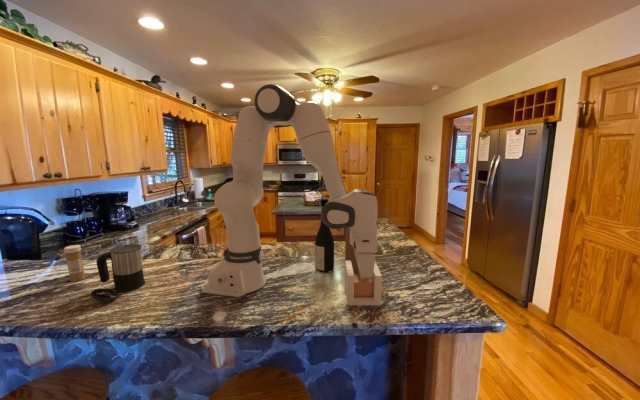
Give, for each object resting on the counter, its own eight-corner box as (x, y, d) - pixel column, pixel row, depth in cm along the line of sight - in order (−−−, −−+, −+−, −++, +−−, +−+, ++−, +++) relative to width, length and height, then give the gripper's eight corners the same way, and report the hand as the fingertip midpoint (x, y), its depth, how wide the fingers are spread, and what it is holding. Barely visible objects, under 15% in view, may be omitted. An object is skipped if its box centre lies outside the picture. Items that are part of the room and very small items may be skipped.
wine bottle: (319, 275, 104) (319, 201, 99) (312, 267, 111) (311, 198, 106) (337, 271, 107) (337, 200, 102) (329, 264, 114) (329, 197, 109)
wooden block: (369, 276, 103) (371, 227, 99) (344, 274, 105) (345, 226, 101) (370, 266, 112) (371, 221, 109) (347, 264, 114) (347, 220, 111)
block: (353, 299, 86) (354, 282, 85) (352, 289, 92) (352, 273, 91) (371, 299, 86) (372, 282, 85) (369, 290, 92) (369, 274, 91)
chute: (347, 304, 83) (347, 275, 81) (345, 286, 95) (345, 260, 93) (380, 305, 83) (381, 276, 81) (374, 286, 95) (375, 260, 93)
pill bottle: (87, 276, 104) (82, 243, 102) (82, 281, 100) (76, 247, 98) (73, 277, 102) (67, 245, 100) (67, 283, 98) (61, 249, 96)
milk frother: (147, 278, 102) (142, 242, 100) (142, 296, 88) (137, 255, 86) (100, 287, 95) (94, 248, 93) (88, 308, 82) (81, 264, 79)
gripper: (350, 229, 96) (350, 265, 98) (356, 249, 76) (355, 293, 78) (367, 229, 96) (366, 265, 98) (378, 249, 75) (377, 293, 78)
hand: (362, 277), depth 88 cm, fingers closed, pressing on block
